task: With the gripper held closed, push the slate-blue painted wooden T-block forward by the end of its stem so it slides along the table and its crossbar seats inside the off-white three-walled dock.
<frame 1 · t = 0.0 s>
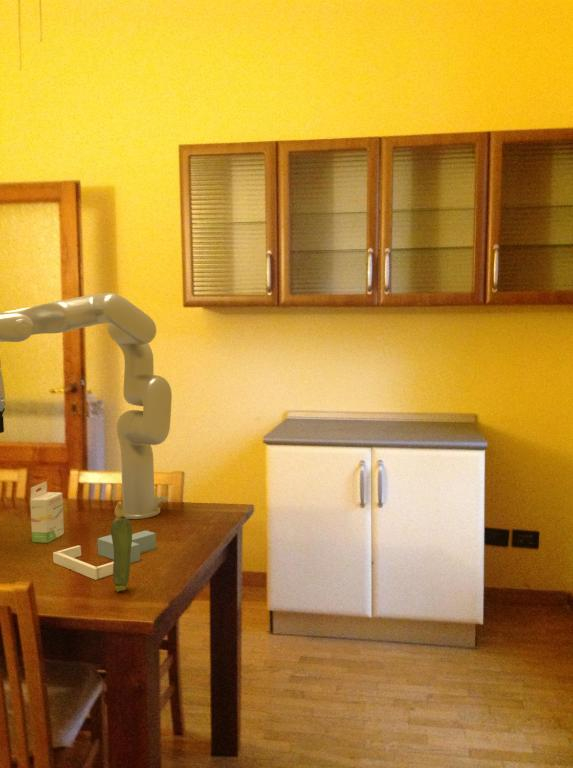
ink box: (48, 538, 188), on the table
t block: (132, 552, 175), on the table
vegetable: (123, 591, 150), on the table
dock: (85, 567, 164), on the table
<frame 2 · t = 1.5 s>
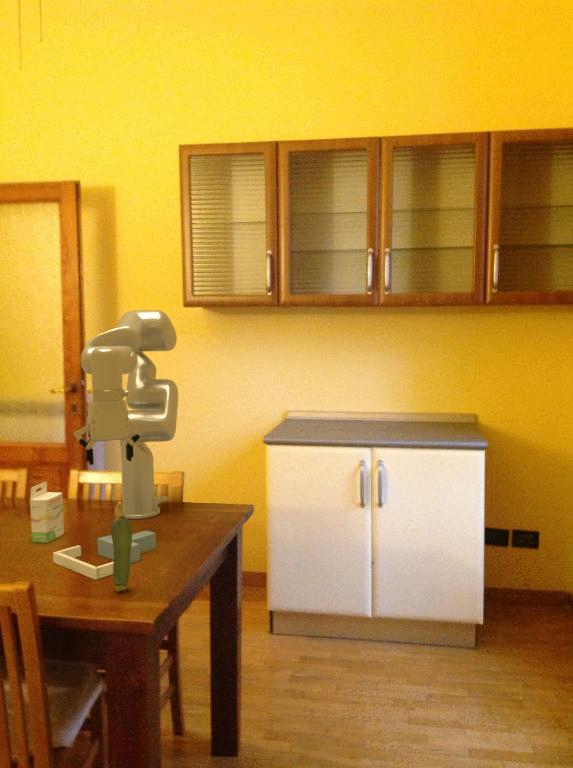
hand: (110, 462, 178), 22 cm above the table, fingers open, 9 cm apart
nothing on the table moved.
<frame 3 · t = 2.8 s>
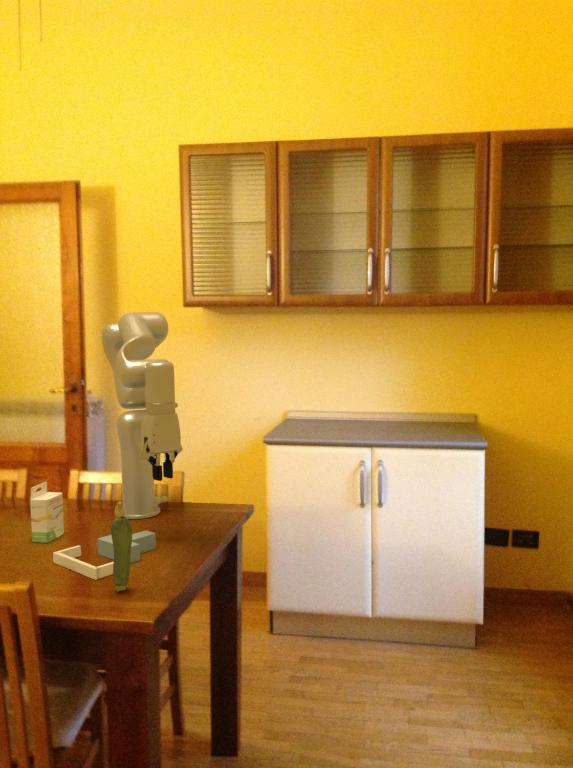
hand: (162, 478, 181), 17 cm above the table, fingers closed
nothing on the table moved.
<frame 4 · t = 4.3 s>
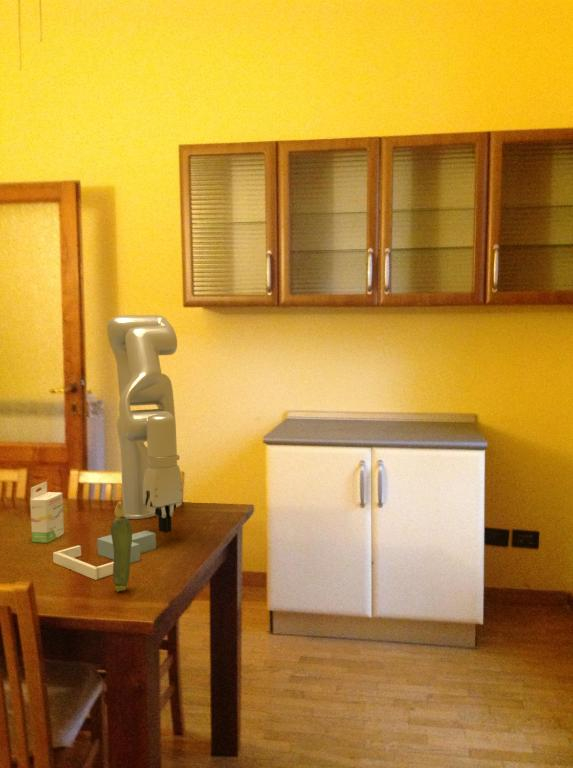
hand: (165, 531, 181), 3 cm above the table, fingers closed
nothing on the table moved.
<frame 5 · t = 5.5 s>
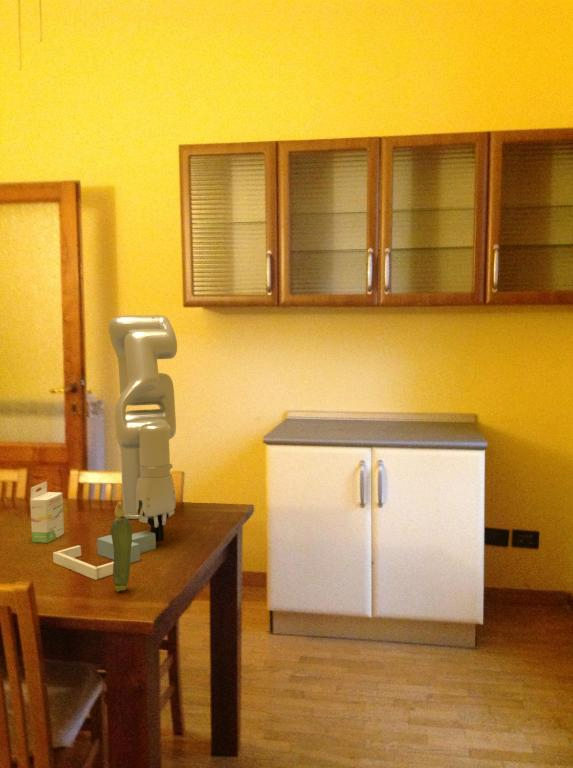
hand: (157, 540, 180), 1 cm above the table, fingers closed
t block: (131, 552, 174), on the table, touching gripper
everything else where it was.
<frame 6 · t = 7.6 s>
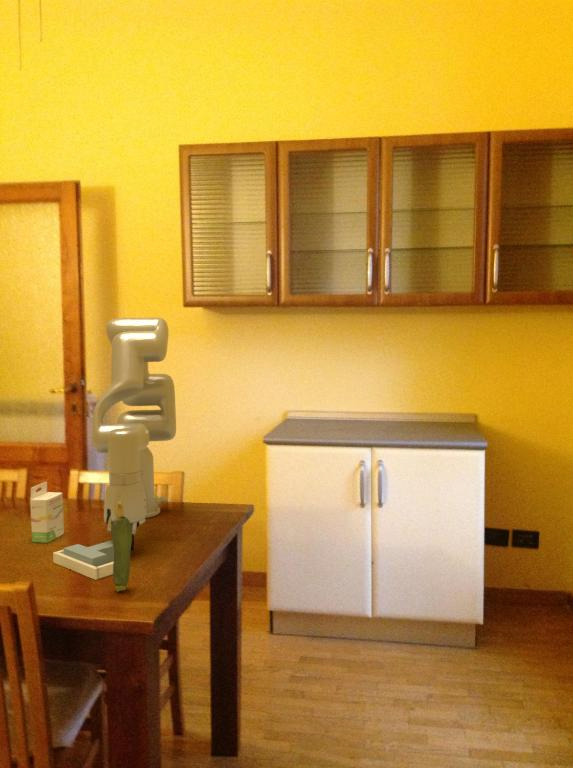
hand: (127, 549, 173), 1 cm above the table, fingers closed
t block: (99, 562, 167), on the table, touching dock, gripper
everything else where it was.
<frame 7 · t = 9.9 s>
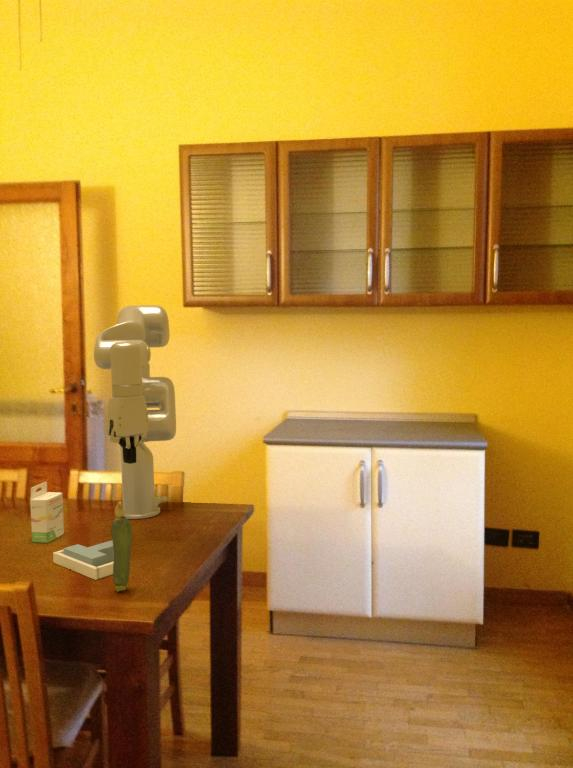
hand: (129, 462, 176), 22 cm above the table, fingers closed
t block: (99, 563, 167), on the table
everything else where it was.
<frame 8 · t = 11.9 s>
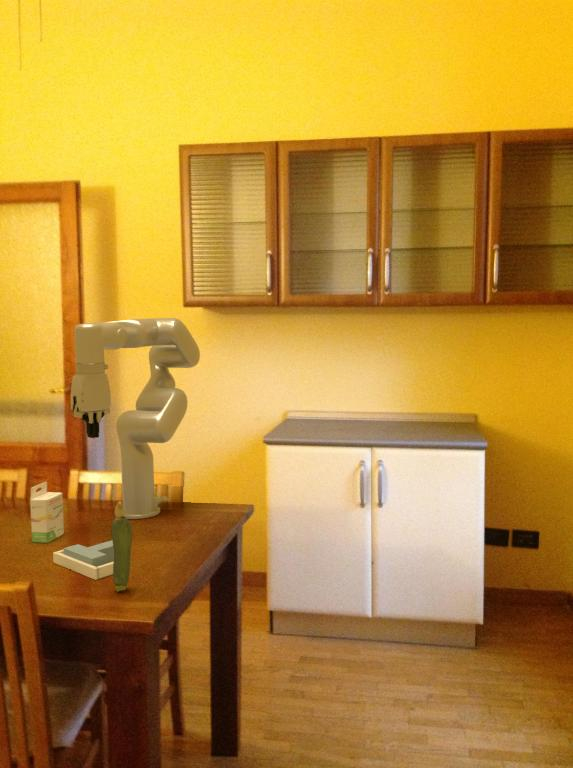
hand: (93, 437, 188), 27 cm above the table, fingers closed
nothing on the table moved.
at the end: t block 0.4 cm from the target spot, on the table; t block tilted 0°; t block touching table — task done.
